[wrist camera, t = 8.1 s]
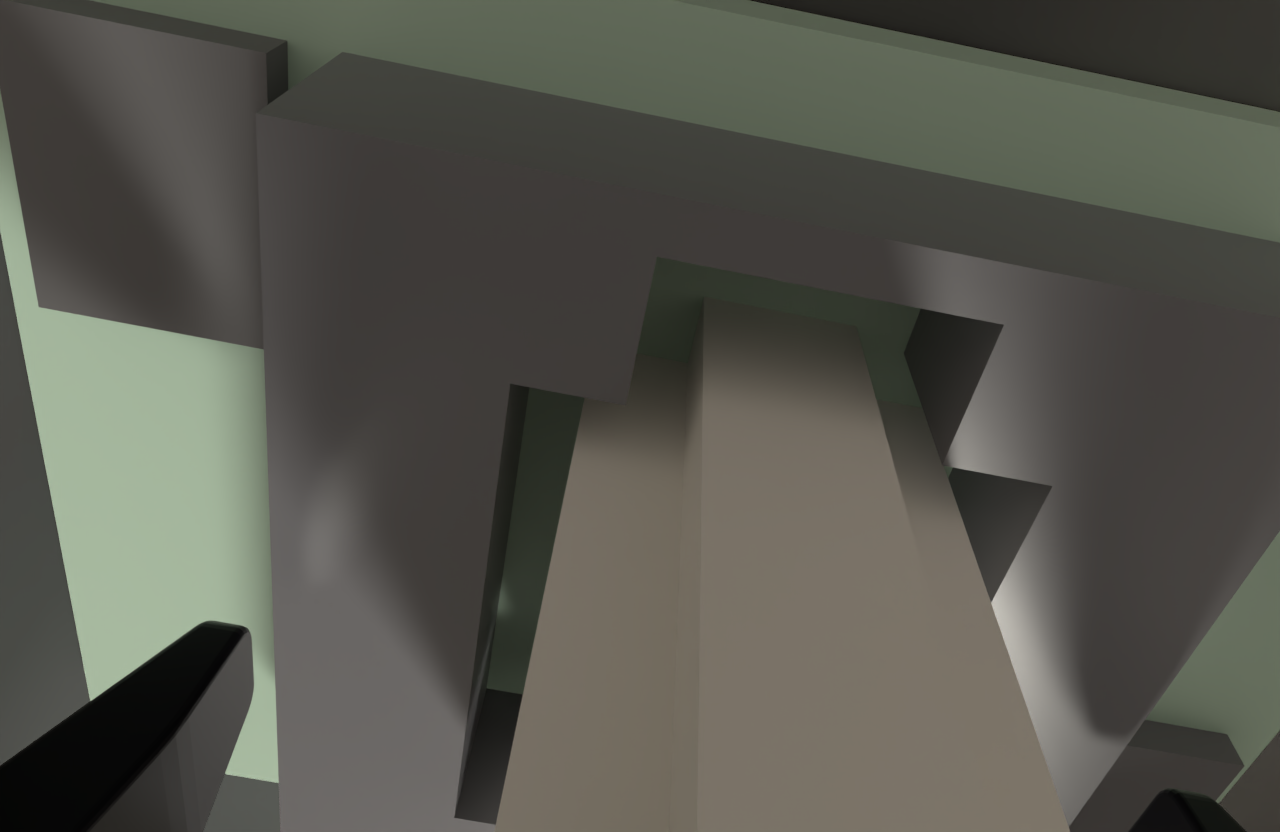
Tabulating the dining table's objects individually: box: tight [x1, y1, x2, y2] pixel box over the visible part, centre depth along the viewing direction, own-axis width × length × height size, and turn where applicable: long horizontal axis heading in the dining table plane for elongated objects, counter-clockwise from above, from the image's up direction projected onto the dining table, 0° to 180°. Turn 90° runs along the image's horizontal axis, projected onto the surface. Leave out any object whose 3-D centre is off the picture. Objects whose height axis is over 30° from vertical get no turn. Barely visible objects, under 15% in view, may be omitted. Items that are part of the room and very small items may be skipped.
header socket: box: [256, 52, 1280, 832], centre depth 11 cm, size 9×10×2 cm
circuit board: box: [0, 0, 1280, 832], centre depth 12 cm, size 16×12×1 cm
